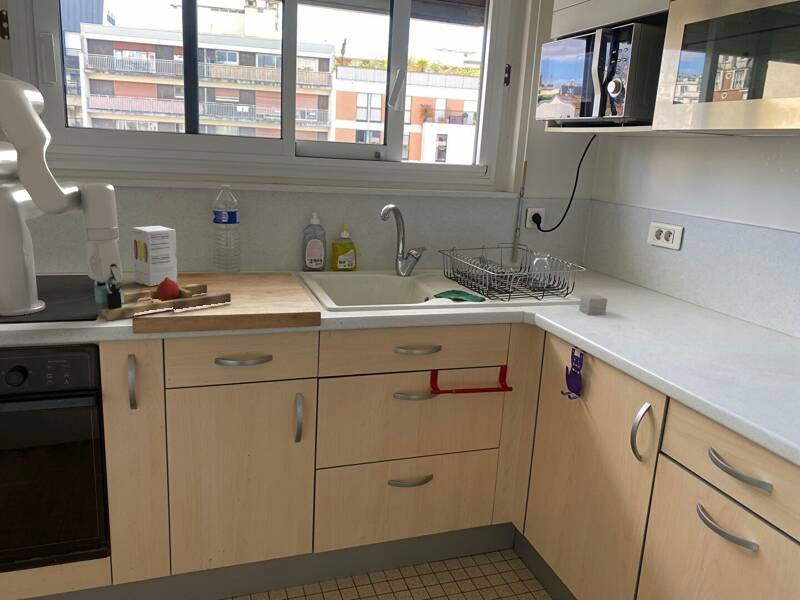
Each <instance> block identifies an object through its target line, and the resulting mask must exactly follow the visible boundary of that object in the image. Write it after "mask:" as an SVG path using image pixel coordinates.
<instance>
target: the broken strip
mask: <svg viewBox="0 0 800 600" xmlns="http://www.w3.org/2000/svg"><path fill="white" fill-rule="evenodd" d="M193 285H198V283H197V284H196V283H192V284H186V285H185V284H184V285H179V287H185V286H193ZM151 291H152V290H149V289H147V290H140V291H134V292H126V293H123V302H124V304H131V303H138V302H137V300H138V299H139V298H144V297H151Z"/></svg>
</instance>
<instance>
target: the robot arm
mask: <svg viewBox="0 0 800 600" xmlns="http://www.w3.org/2000/svg"><path fill="white" fill-rule="evenodd" d="M44 109H45V101H44V98H43V95H42V92H41V91H40V90H39V89H38V88H37V87H36V86H34V85H33V84H31V83H30V82H26V81H24V80H21V79H18V78H16V77H13V76H10V75H7V74H5V73H2V72H0V128H1V129H2V131H3V133H4V134H5V136H6V138H7V139H8V141H2V140H0V315H1V316H3V317H5V316H6V317H7V316H8V317H11V316H12V317H13V316H23V315H24V314H25V315H29V314H30V313H31V314H34V313H35V314H36V313H38V312H40V311H43V310H45V308H46V303H45V302H44V301H43V300H41V299H40V300H39V298H38V288H37V278H36V268H35V267H36V266H35V265H36V264H35V257H34V248H33V239H32V235H31V231H30V229H29V227H28V226H27V224H26V220H31V219H35V218H38V217H40V216H42V215H43V214H46V215H48V216H52V217H58V216H64V215H65V216H66V215H68V214H74V213H81V212H82V219H83V227H84V228H83V229H84V237H85V238H84V239H85V242H86V259H87V260H86V263H87V264H86V265H87V276H88V277H89V278H90V279H91V280H93V281H94V287H95V286H103V285H106V286H107V290H108V294H107V303H108V309H110V310H111V309H117V308H121V307H123V303H122V296H121V295H122V293H121V292H122V289H121V287H122V282H123V279H122V277H123V271H122V262H121V256H120V250H119V249H120V248H119V243H118V241H120V233H119V232H120V231H119V223H118V212H117V201H116V200H117V199H116V193H115V191H116V190H115V188H114V186H113V185H112V184H111V183H107V182H90V183H88V182H82V181H81V182H80V181H63V182H61V181H60V182H57V180H56V179H55V177H54V175H52V172H51V171H50V169H49V166H48V164H47V161H46V150H47V148H48V147H49V145H51V143H52V139H53V138H52V135H51V132H49V130H48V129H47V127H46V125H45V124H44V122H43V120H42V119H41V117H40V115H41V114H42V112H43V111H44ZM109 279H113V280H109ZM110 285H112V286H110Z"/></svg>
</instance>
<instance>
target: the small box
mask: <svg viewBox="0 0 800 600" xmlns="http://www.w3.org/2000/svg"><path fill="white" fill-rule="evenodd" d="M607 304H608V298H605V297H603V295H602V296H601V295H599V294H593V293H591V294H589V293H588V294H581V295H580V301H579V311H580V312H582V313H584V314H585V315H588V316H605V315H606V311H607Z"/></svg>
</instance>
